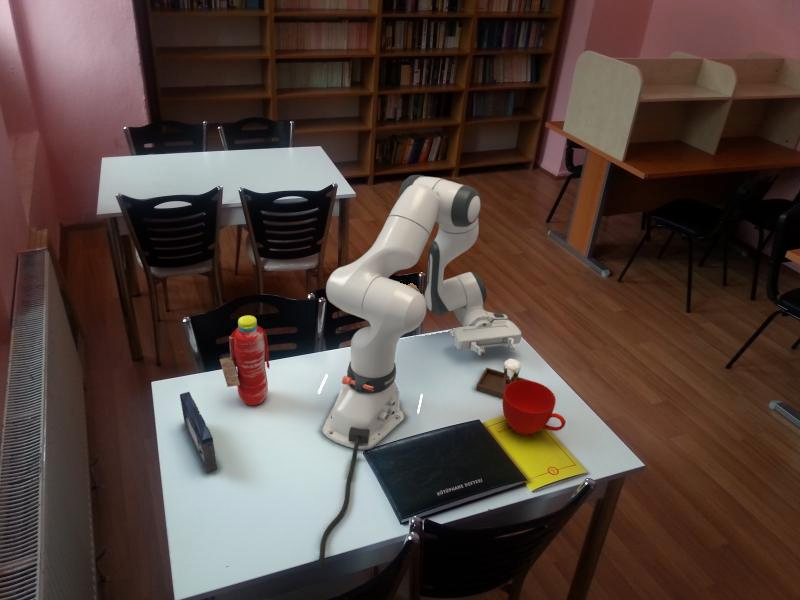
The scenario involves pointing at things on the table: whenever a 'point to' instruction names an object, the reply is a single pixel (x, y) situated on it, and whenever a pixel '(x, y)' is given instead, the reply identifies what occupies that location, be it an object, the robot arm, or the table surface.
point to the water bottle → (247, 361)
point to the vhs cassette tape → (198, 432)
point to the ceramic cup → (529, 407)
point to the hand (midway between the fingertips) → (497, 351)
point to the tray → (492, 382)
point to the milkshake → (510, 371)
